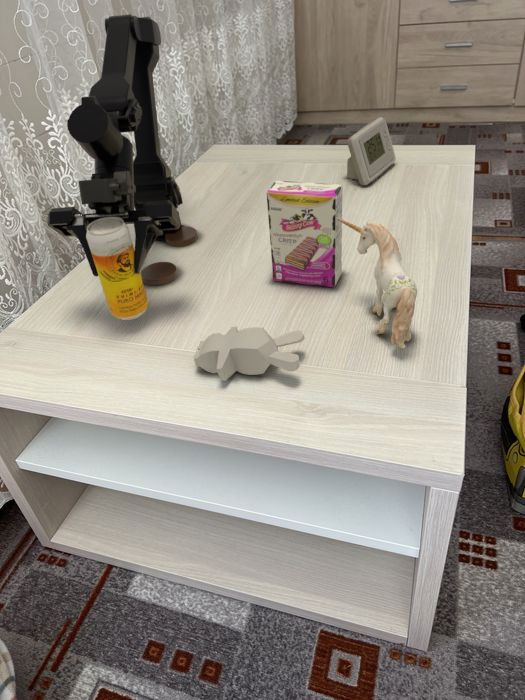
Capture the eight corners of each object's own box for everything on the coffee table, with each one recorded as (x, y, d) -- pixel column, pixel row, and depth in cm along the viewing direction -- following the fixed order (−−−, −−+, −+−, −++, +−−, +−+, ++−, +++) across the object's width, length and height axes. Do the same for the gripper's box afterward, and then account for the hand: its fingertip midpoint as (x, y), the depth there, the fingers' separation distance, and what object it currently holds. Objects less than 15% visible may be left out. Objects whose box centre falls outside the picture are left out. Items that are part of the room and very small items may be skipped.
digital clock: (364, 189, 122) (365, 140, 115) (332, 180, 127) (332, 133, 120) (407, 166, 130) (410, 119, 123) (375, 158, 135) (377, 113, 129)
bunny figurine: (202, 321, 81) (302, 313, 77) (211, 348, 84) (308, 342, 80) (184, 362, 74) (294, 357, 70) (195, 390, 77) (300, 386, 73)
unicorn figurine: (375, 281, 92) (378, 207, 84) (442, 347, 78) (455, 264, 69) (336, 292, 91) (336, 217, 82) (397, 361, 76) (404, 278, 68)
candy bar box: (272, 282, 95) (264, 192, 85) (281, 268, 99) (274, 179, 88) (336, 289, 92) (335, 196, 81) (342, 274, 95) (343, 182, 85)
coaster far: (159, 243, 110) (158, 238, 109) (178, 229, 114) (176, 224, 113) (186, 248, 107) (184, 243, 107) (203, 234, 112) (202, 228, 111)
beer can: (127, 326, 85) (100, 239, 75) (103, 313, 88) (75, 228, 78) (157, 307, 88) (135, 221, 78) (133, 295, 91) (109, 211, 82)
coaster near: (135, 281, 99) (133, 276, 98) (156, 264, 103) (155, 259, 103) (163, 288, 97) (162, 282, 96) (184, 270, 101) (183, 265, 100)
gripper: (28, 155, 76) (29, 265, 75) (160, 144, 75) (163, 256, 73) (63, 186, 87) (64, 282, 86) (179, 177, 86) (182, 275, 85)
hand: (116, 274), depth 82 cm, fingers closed on beer can, 6 cm apart
